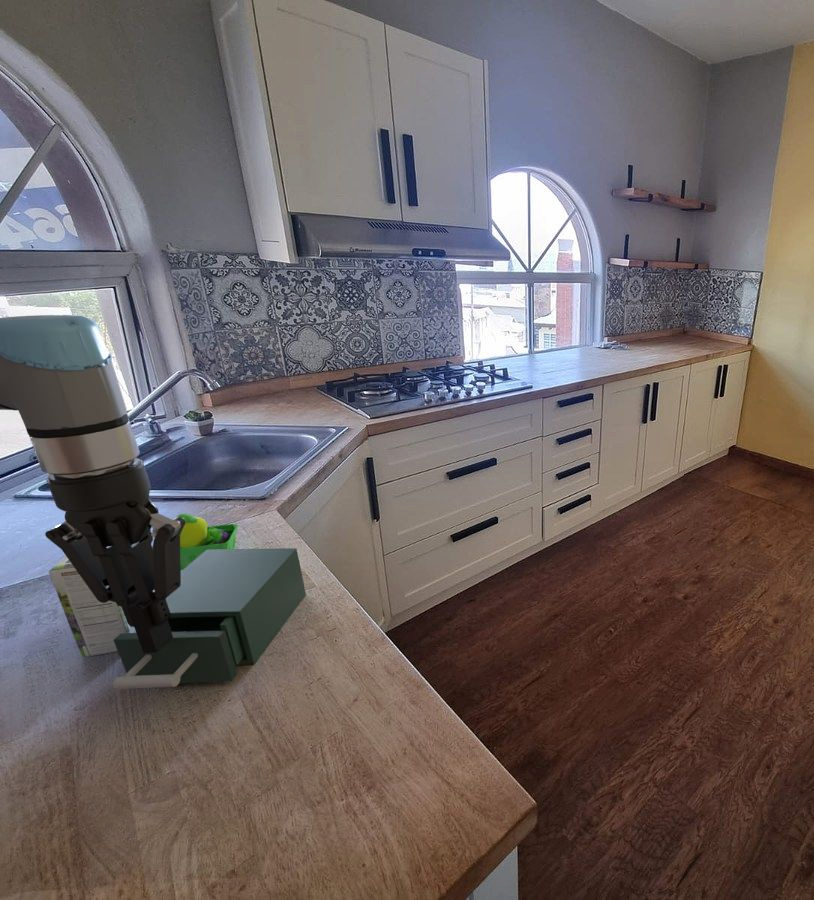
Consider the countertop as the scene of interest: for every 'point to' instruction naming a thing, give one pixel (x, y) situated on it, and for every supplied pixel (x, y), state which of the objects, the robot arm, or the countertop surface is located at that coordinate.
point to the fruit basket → (203, 538)
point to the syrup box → (88, 612)
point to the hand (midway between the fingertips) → (158, 644)
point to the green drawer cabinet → (242, 592)
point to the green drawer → (183, 654)
